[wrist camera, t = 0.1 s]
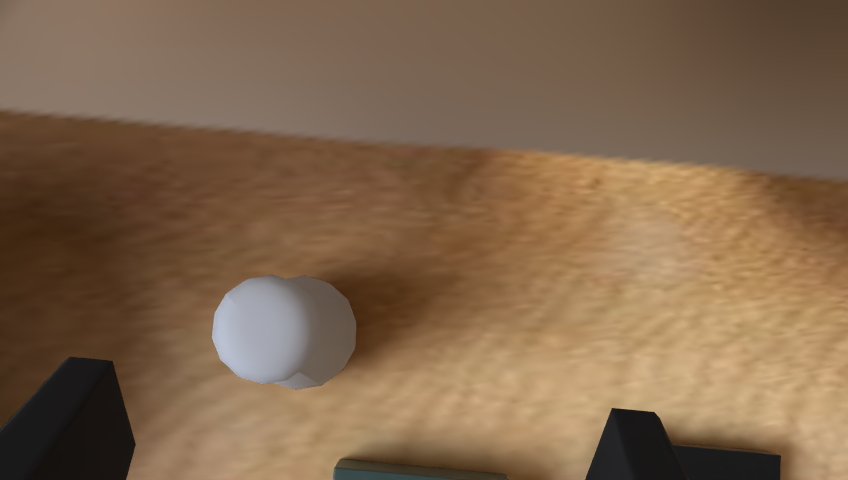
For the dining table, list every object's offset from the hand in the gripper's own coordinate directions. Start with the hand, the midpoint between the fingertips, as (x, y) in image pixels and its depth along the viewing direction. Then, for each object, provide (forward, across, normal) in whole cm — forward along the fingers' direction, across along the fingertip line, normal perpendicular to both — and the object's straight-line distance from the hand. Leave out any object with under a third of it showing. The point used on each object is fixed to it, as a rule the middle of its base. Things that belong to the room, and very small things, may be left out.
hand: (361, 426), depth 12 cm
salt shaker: (+22, +5, +23) cm, 32 cm away
